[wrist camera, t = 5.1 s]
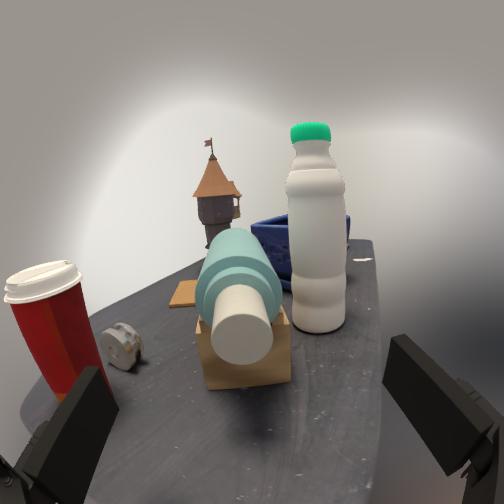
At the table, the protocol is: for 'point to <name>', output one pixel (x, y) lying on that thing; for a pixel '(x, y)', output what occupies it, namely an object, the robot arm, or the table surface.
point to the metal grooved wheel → (122, 345)
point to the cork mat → (184, 294)
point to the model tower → (216, 199)
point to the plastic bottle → (238, 297)
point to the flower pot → (279, 245)
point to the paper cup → (54, 322)
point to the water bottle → (316, 231)
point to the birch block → (256, 374)
